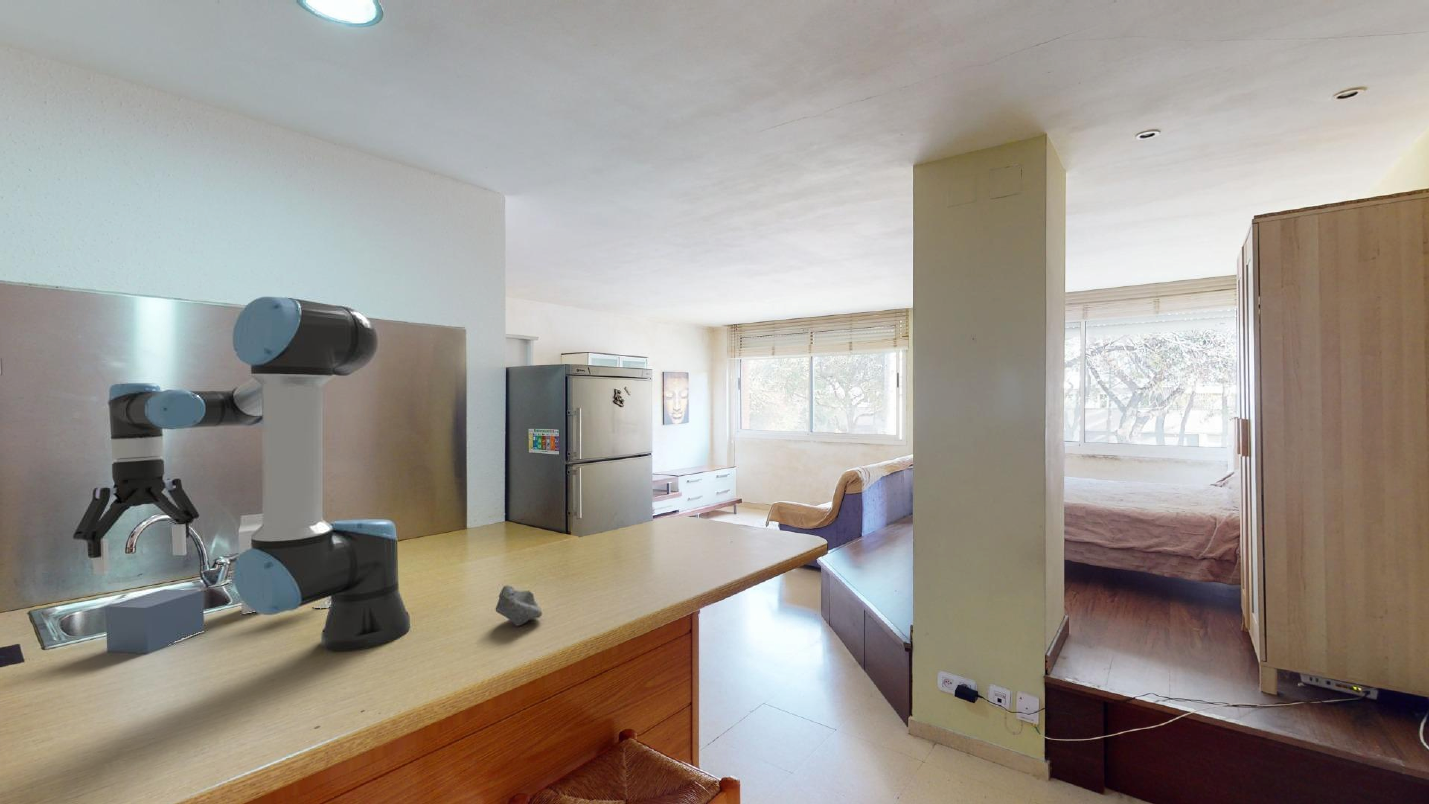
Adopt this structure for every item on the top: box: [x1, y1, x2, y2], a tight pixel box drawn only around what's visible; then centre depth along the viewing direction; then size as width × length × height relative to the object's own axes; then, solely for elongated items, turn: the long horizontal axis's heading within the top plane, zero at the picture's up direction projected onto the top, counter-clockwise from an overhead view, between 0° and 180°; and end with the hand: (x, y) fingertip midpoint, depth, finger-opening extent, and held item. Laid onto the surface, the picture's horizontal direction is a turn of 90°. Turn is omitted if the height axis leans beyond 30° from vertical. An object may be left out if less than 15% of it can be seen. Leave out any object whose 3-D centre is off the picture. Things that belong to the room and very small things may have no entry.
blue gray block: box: [104, 588, 205, 654], centre depth 118 cm, size 10×10×9 cm
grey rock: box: [495, 585, 543, 627], centre depth 119 cm, size 11×9×8 cm
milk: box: [238, 513, 263, 615], centre depth 135 cm, size 6×6×22 cm
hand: (142, 563), depth 118 cm, fingers open, 13 cm apart
